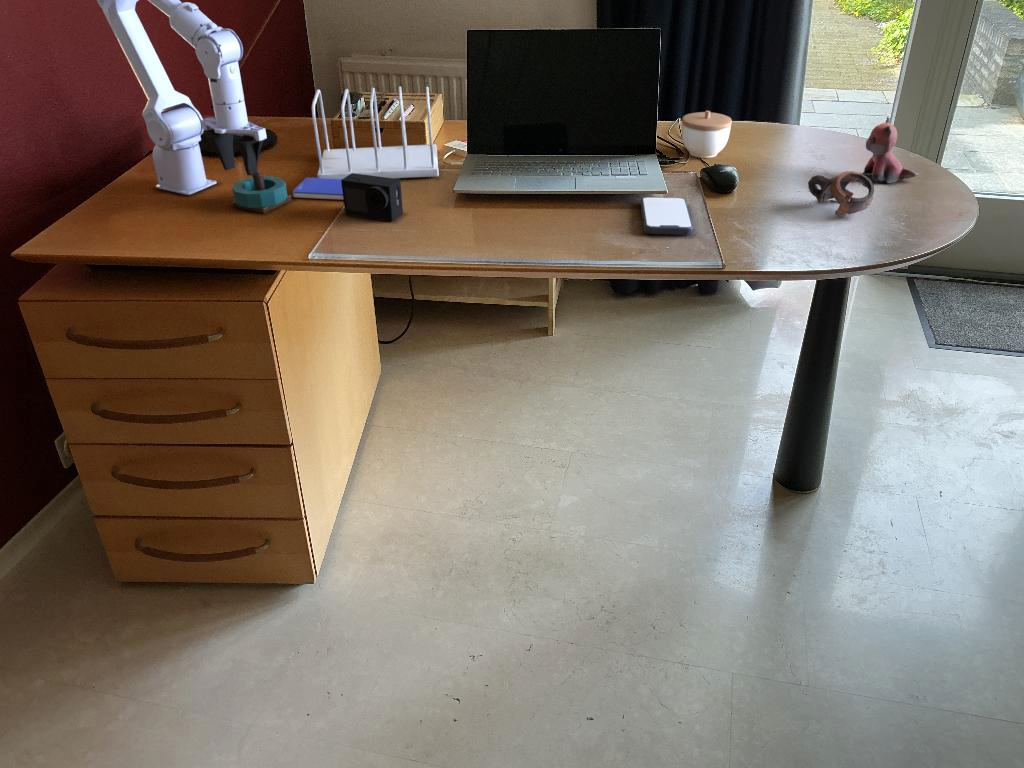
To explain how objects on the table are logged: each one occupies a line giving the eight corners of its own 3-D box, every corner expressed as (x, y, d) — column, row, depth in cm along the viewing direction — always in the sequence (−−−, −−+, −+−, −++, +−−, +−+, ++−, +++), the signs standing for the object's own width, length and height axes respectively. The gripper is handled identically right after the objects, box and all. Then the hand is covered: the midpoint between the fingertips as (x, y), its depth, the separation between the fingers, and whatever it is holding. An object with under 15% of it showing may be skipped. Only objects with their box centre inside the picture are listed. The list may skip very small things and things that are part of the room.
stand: (232, 206, 168) (227, 177, 164) (261, 193, 174) (256, 164, 170) (263, 213, 164) (258, 183, 161) (291, 200, 170) (287, 170, 167)
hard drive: (292, 190, 170) (352, 193, 169) (307, 176, 177) (364, 179, 175) (293, 198, 171) (353, 201, 170) (308, 183, 178) (365, 186, 176)
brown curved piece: (863, 203, 167) (883, 175, 160) (854, 239, 163) (873, 212, 156) (804, 182, 169) (821, 153, 161) (793, 217, 165) (809, 189, 157)
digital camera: (341, 217, 163) (336, 181, 159) (355, 207, 167) (351, 172, 163) (389, 224, 160) (386, 188, 156) (403, 214, 164) (400, 178, 160)
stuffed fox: (920, 187, 173) (935, 128, 166) (862, 185, 175) (875, 126, 168) (911, 175, 179) (926, 117, 173) (855, 172, 181) (868, 115, 174)
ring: (224, 202, 167) (221, 188, 165) (259, 186, 174) (257, 173, 173) (262, 211, 163) (260, 197, 161) (297, 194, 170) (295, 181, 169)
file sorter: (436, 152, 194) (432, 81, 186) (439, 178, 180) (434, 103, 171) (324, 157, 192) (315, 85, 184) (318, 184, 178) (307, 107, 169)
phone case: (639, 204, 167) (644, 235, 154) (640, 196, 167) (644, 227, 153) (685, 205, 167) (693, 236, 153) (686, 197, 166) (694, 228, 152)
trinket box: (669, 153, 192) (672, 111, 187) (698, 143, 198) (702, 101, 193) (708, 164, 186) (713, 121, 181) (737, 153, 192) (742, 111, 187)
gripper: (184, 100, 160) (198, 171, 168) (242, 111, 154) (254, 183, 162) (212, 91, 165) (225, 160, 173) (269, 101, 159) (280, 172, 167)
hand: (241, 171), depth 168 cm, fingers open, 5 cm apart
